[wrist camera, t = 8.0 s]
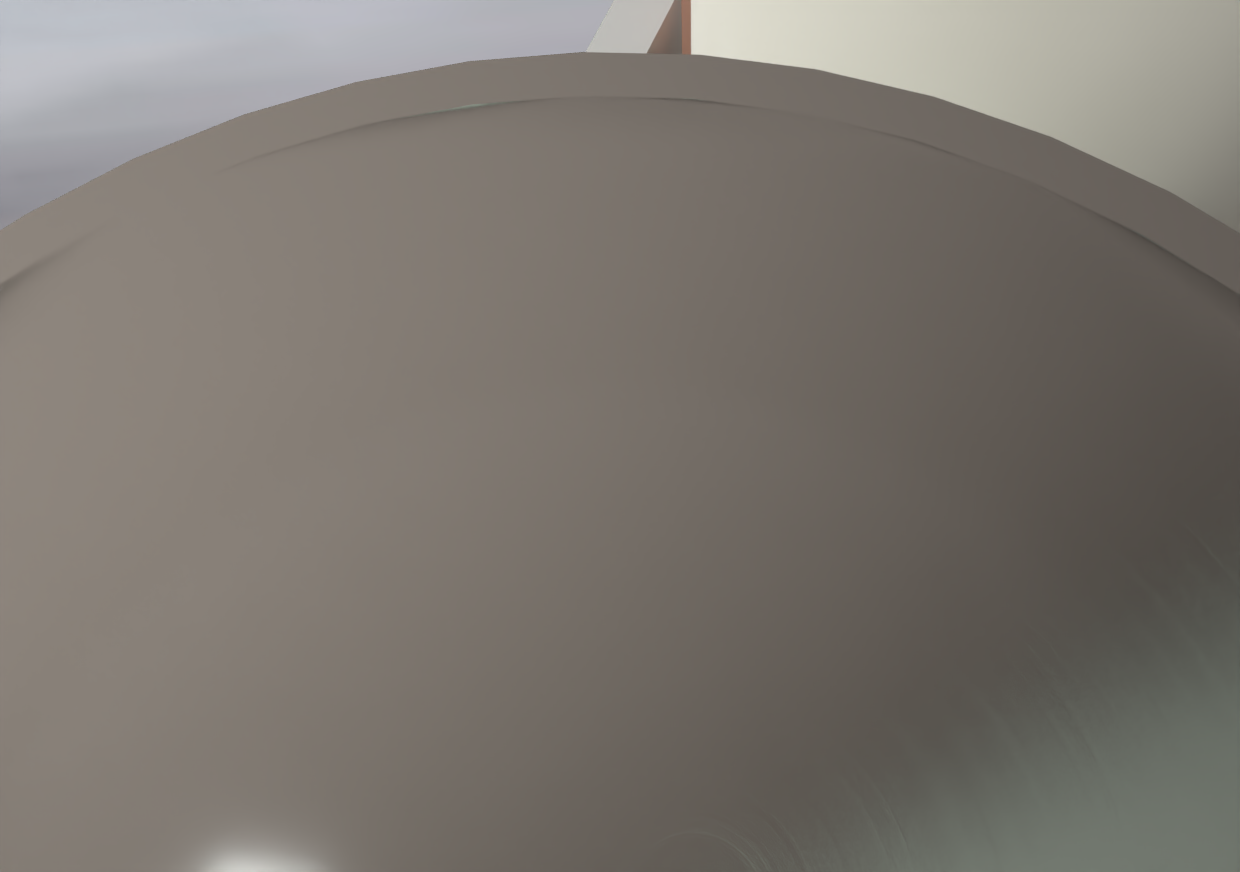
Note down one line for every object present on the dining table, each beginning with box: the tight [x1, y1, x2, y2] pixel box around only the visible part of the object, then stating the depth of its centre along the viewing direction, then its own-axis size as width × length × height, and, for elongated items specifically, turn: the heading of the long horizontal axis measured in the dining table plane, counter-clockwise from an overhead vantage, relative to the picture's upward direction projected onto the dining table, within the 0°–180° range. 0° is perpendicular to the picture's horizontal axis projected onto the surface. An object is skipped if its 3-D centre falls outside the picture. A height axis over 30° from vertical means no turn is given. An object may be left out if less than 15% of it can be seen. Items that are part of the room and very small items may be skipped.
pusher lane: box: [586, 0, 682, 54], centre depth 16 cm, size 26×13×7 cm, turn 157°
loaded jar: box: [691, 0, 1240, 233], centre depth 13 cm, size 6×6×13 cm
